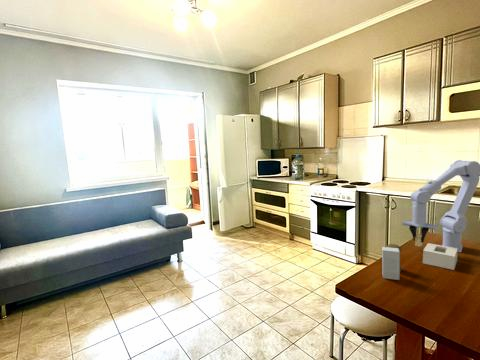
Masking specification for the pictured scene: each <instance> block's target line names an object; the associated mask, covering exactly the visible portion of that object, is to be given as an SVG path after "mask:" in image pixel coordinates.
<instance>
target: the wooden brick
mask: <svg viewBox="0 0 480 360" xmlns="http://www.w3.org/2000/svg"><path fill="white" fill-rule="evenodd" d="M421 239H422V234H417V233H416V236H415V241H414V246H415V247H416V246H417V247H422V246H423V244H424V242H423V243H422V242H421Z"/></svg>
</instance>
